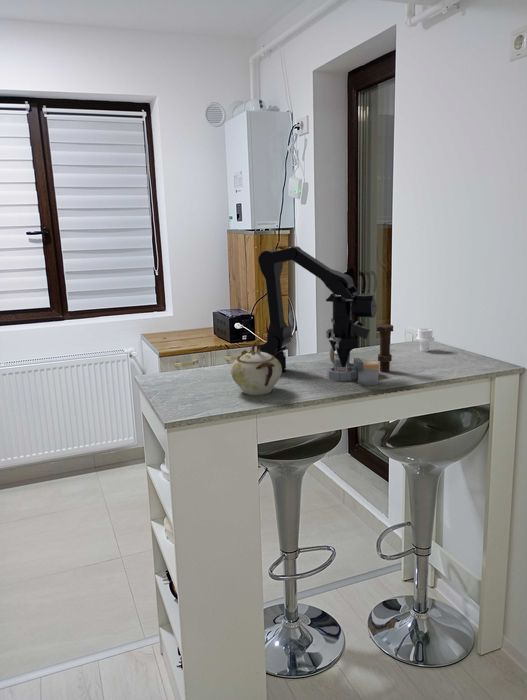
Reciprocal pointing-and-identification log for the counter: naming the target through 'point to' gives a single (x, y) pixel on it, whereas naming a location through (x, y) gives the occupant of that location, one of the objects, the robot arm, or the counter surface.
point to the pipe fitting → (424, 338)
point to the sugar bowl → (256, 371)
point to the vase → (332, 356)
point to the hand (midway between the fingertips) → (341, 365)
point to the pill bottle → (338, 365)
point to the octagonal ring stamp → (352, 370)
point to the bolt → (384, 346)
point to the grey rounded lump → (367, 377)
